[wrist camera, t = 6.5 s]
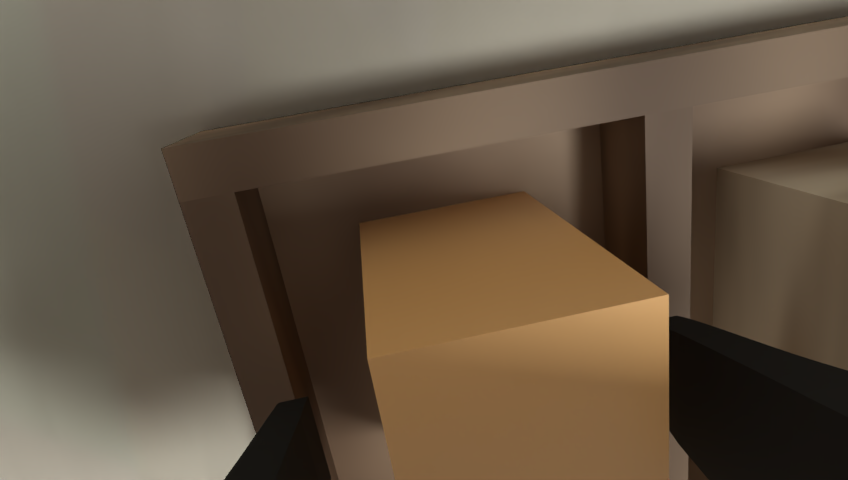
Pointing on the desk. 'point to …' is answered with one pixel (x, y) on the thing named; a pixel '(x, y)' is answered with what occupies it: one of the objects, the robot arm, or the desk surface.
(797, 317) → the maple block
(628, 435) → the plug block
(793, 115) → the slot rack
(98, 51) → the desk surface
